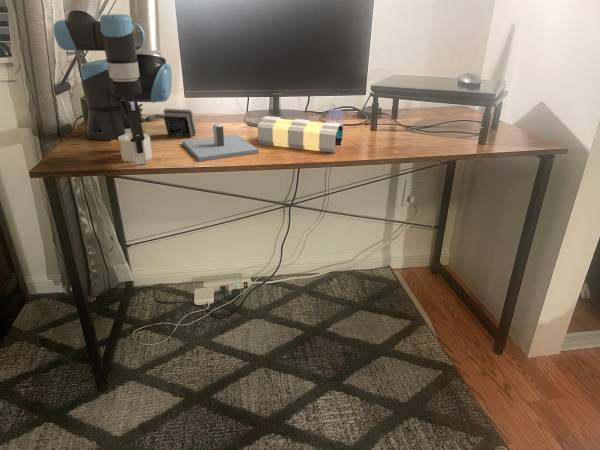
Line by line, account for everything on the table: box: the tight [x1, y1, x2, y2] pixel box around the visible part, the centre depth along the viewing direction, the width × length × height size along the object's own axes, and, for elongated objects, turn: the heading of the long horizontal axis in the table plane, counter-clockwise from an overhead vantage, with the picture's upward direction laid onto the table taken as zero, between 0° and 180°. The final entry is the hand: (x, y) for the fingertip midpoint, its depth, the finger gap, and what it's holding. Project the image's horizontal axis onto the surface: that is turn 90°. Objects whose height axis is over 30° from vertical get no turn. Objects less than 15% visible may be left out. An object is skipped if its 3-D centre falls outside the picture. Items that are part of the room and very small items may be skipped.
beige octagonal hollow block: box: [110, 132, 153, 163], centre depth 125 cm, size 8×10×6 cm
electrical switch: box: [163, 107, 197, 139], centre depth 145 cm, size 9×5×9 cm, turn 84°
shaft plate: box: [181, 123, 259, 162], centre depth 134 cm, size 18×18×7 cm
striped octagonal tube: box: [257, 103, 344, 154], centre depth 139 cm, size 25×10×13 cm, turn 72°
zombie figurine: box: [138, 103, 165, 123], centre depth 164 cm, size 5×7×15 cm
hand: (136, 156), depth 127 cm, fingers open, 12 cm apart
